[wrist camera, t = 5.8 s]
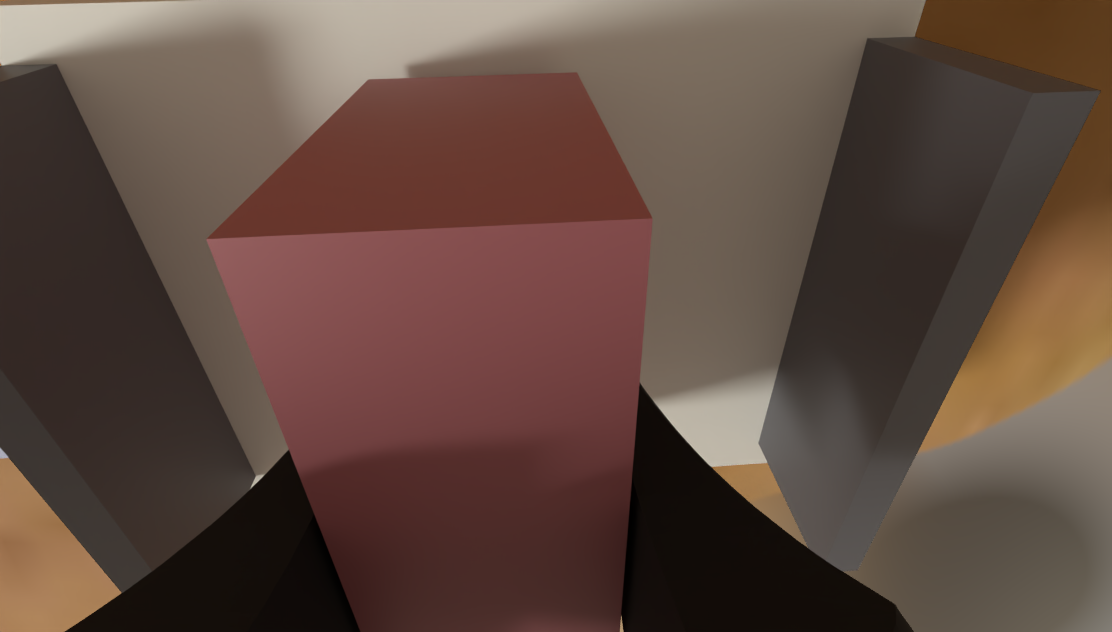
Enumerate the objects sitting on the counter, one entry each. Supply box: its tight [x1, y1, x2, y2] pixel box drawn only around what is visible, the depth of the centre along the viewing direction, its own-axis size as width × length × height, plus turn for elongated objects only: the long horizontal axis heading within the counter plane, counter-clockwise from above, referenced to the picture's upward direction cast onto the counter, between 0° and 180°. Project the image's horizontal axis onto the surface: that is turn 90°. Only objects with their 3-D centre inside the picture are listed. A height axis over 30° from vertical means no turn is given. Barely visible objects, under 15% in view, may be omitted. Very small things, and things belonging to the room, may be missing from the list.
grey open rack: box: [0, 0, 1100, 593], centre depth 14 cm, size 18×14×6 cm
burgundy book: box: [206, 72, 653, 632], centre depth 11 cm, size 4×10×7 cm, turn 1°
